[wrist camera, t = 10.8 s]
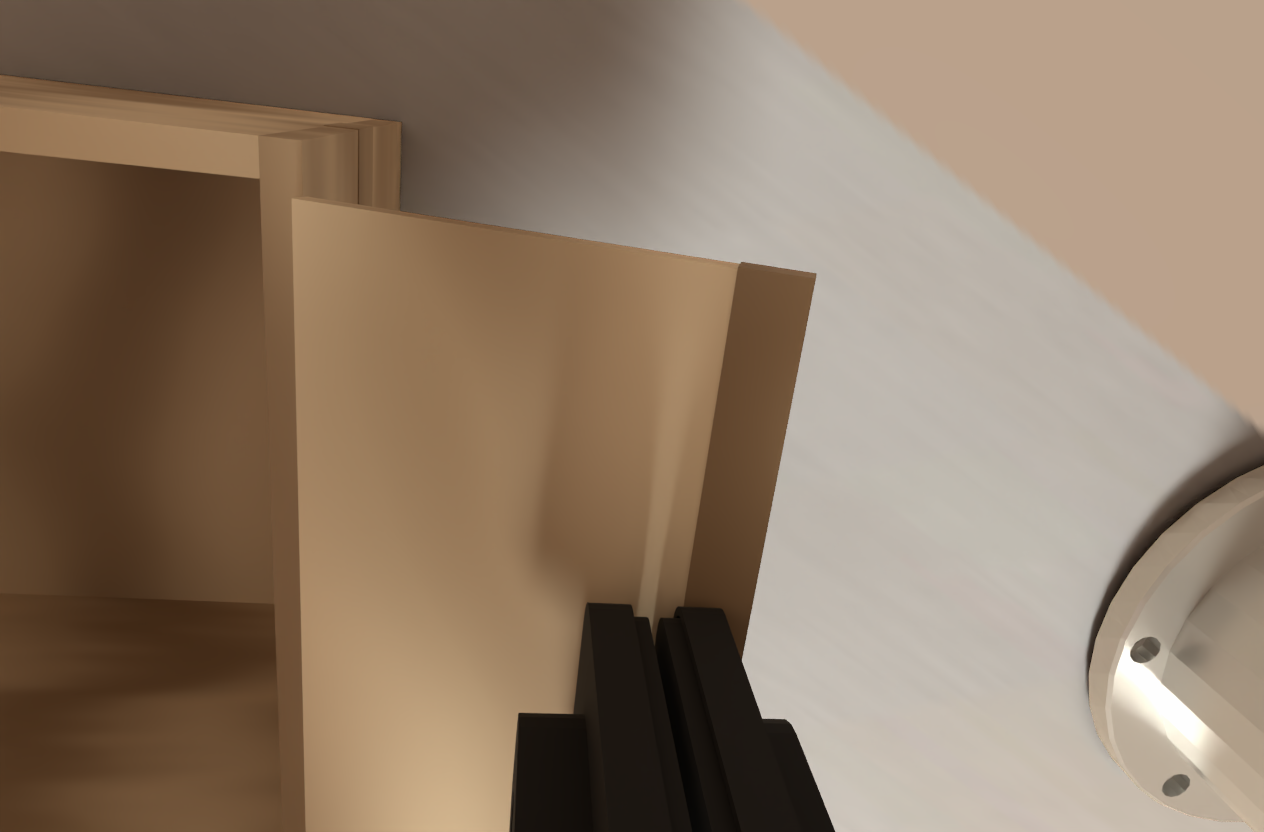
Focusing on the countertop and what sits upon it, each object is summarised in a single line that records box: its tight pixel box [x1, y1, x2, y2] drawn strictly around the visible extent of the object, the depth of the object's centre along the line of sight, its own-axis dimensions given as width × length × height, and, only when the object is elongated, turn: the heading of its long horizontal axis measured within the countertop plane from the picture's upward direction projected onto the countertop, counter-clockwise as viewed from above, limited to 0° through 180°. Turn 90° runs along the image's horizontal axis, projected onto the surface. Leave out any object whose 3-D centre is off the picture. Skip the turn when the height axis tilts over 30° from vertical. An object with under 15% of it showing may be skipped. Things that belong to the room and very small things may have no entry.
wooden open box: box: [0, 75, 402, 832], centre depth 15 cm, size 11×12×8 cm
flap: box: [292, 197, 816, 832], centre depth 11 cm, size 6×11×1 cm, turn 173°
